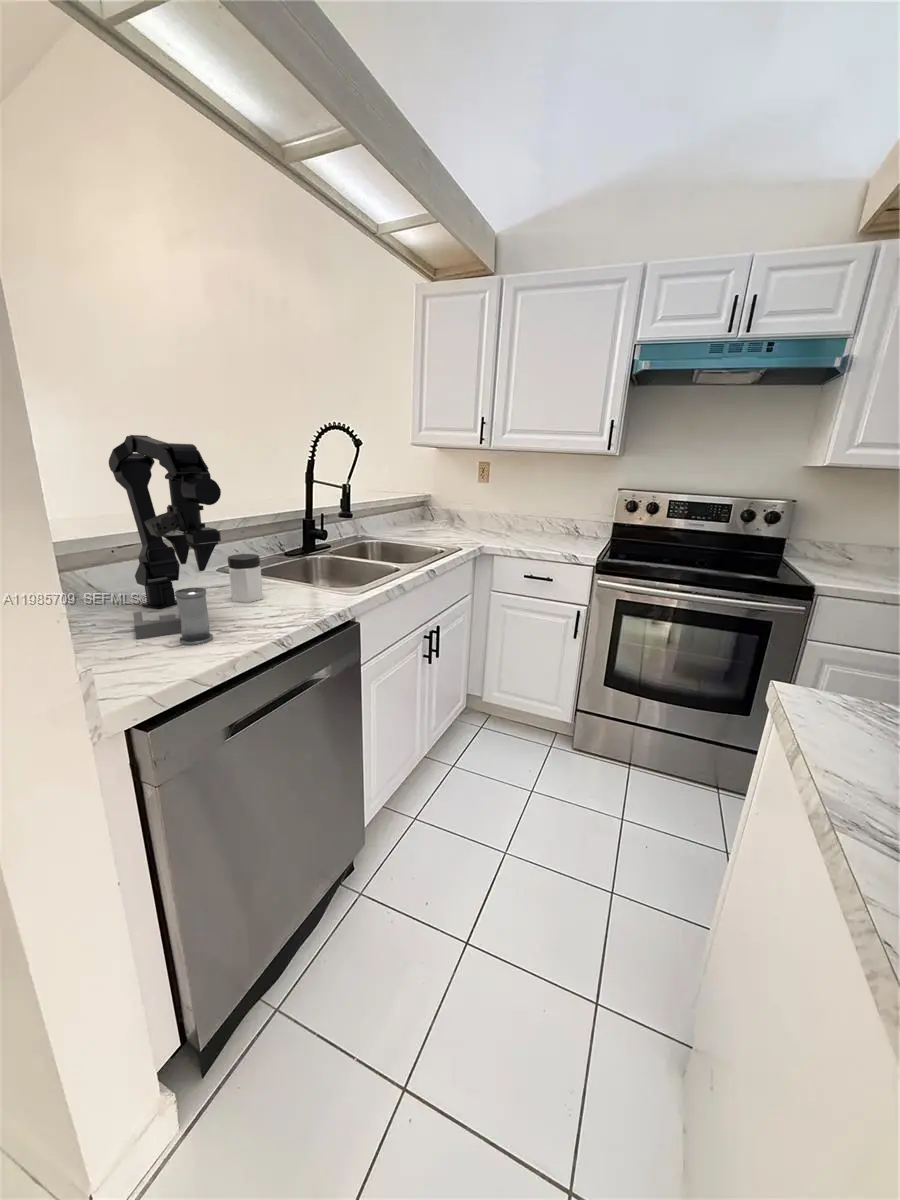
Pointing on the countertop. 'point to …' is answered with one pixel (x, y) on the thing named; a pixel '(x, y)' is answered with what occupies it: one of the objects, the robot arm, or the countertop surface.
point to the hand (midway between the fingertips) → (192, 567)
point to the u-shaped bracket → (156, 626)
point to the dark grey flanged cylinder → (193, 616)
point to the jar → (245, 577)
